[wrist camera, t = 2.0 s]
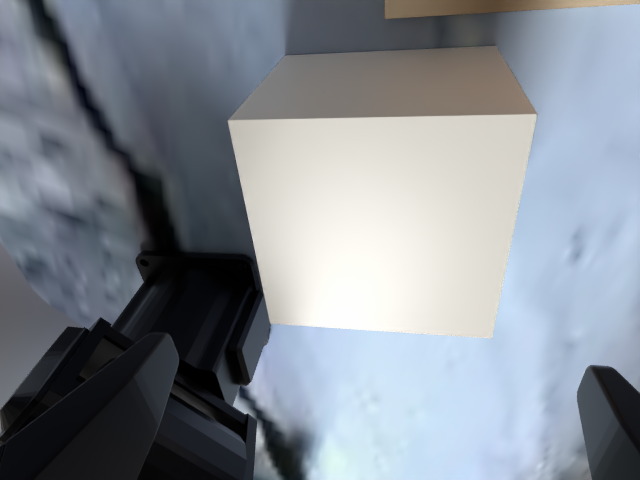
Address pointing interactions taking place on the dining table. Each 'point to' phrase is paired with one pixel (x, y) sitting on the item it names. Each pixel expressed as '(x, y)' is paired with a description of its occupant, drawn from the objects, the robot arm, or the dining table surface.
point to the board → (484, 6)
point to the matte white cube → (385, 187)
